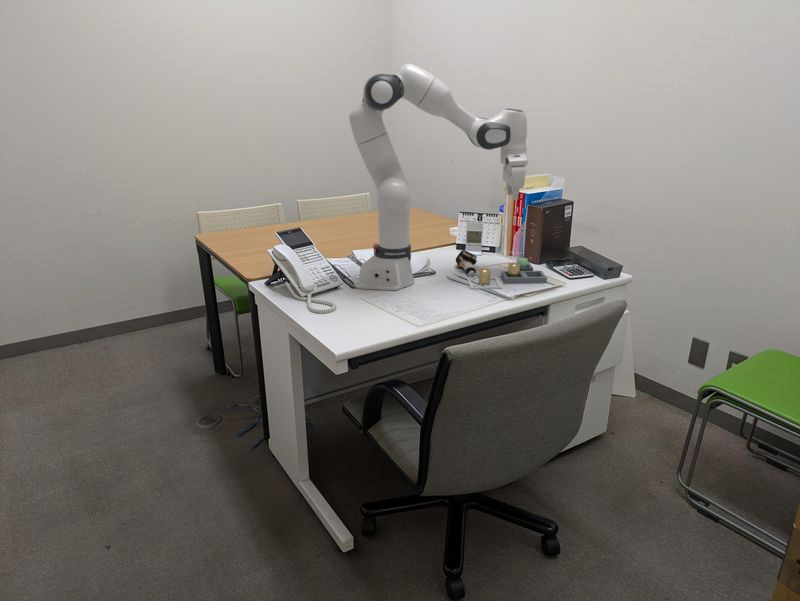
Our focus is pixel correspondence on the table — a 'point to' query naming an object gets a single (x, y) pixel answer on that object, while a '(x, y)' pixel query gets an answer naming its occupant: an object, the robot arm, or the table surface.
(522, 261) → the button
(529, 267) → the button housing
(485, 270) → the cylinder
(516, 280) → the compartment tray
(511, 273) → the billet
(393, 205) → the robot arm
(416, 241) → the table surface
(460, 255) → the figurine
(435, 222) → the table surface
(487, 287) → the grey square tray
